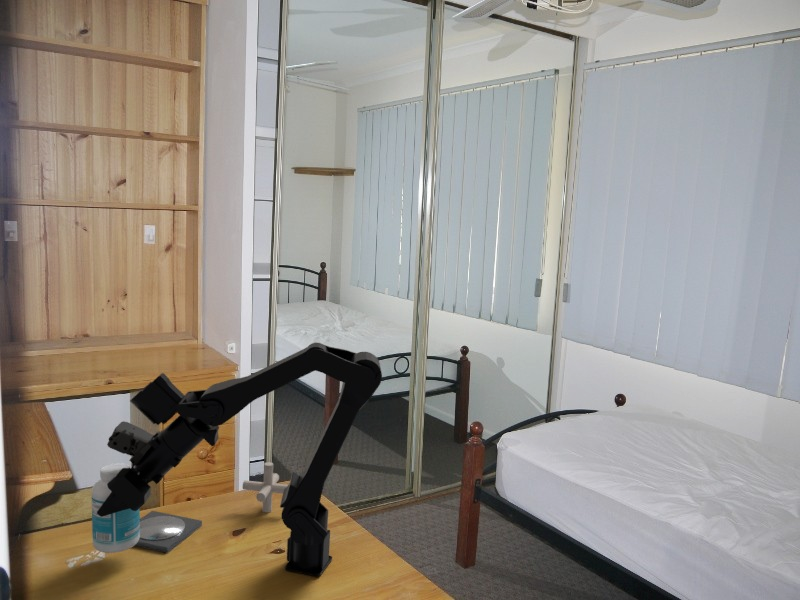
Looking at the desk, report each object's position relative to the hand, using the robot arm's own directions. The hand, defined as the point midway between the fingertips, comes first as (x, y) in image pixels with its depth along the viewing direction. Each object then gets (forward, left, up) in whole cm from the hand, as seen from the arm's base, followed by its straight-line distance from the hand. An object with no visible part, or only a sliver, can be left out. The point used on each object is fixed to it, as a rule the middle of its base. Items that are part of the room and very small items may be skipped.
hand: (107, 503), depth 113 cm
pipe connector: (-16, -27, -10) cm, 34 cm away
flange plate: (-2, -11, -10) cm, 16 cm away
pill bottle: (-1, 0, -7) cm, 7 cm away
